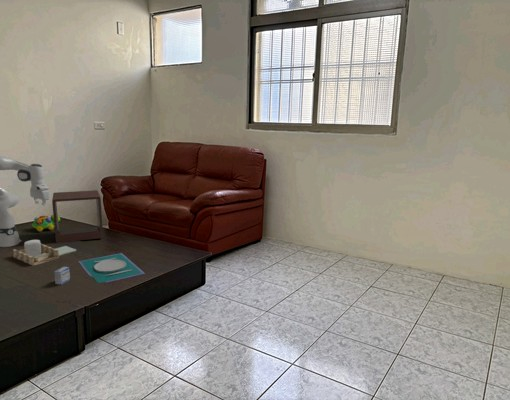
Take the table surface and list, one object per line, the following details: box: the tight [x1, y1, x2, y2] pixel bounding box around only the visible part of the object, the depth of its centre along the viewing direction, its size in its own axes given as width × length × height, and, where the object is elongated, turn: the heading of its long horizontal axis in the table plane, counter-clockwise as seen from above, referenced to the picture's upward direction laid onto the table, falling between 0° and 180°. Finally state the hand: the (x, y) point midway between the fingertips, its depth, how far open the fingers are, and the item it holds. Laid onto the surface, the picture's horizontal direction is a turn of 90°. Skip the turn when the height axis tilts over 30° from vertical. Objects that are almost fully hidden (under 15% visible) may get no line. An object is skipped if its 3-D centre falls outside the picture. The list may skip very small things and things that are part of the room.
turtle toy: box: [31, 214, 61, 233], centre depth 335 cm, size 17×23×12 cm
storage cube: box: [51, 189, 104, 244], centre depth 316 cm, size 35×29×35 cm
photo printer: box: [23, 239, 42, 257], centre depth 269 cm, size 10×4×12 cm, turn 130°
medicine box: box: [53, 266, 71, 286], centre depth 230 cm, size 8×4×9 cm, turn 170°
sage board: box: [55, 245, 77, 257], centre depth 282 cm, size 14×14×1 cm
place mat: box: [77, 252, 146, 284], centre depth 256 cm, size 45×30×2 cm
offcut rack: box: [12, 243, 60, 266], centre depth 268 cm, size 26×18×6 cm
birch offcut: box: [34, 253, 50, 261], centre depth 264 cm, size 4×10×2 cm, turn 167°
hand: (40, 204), depth 280 cm, fingers open, 8 cm apart
